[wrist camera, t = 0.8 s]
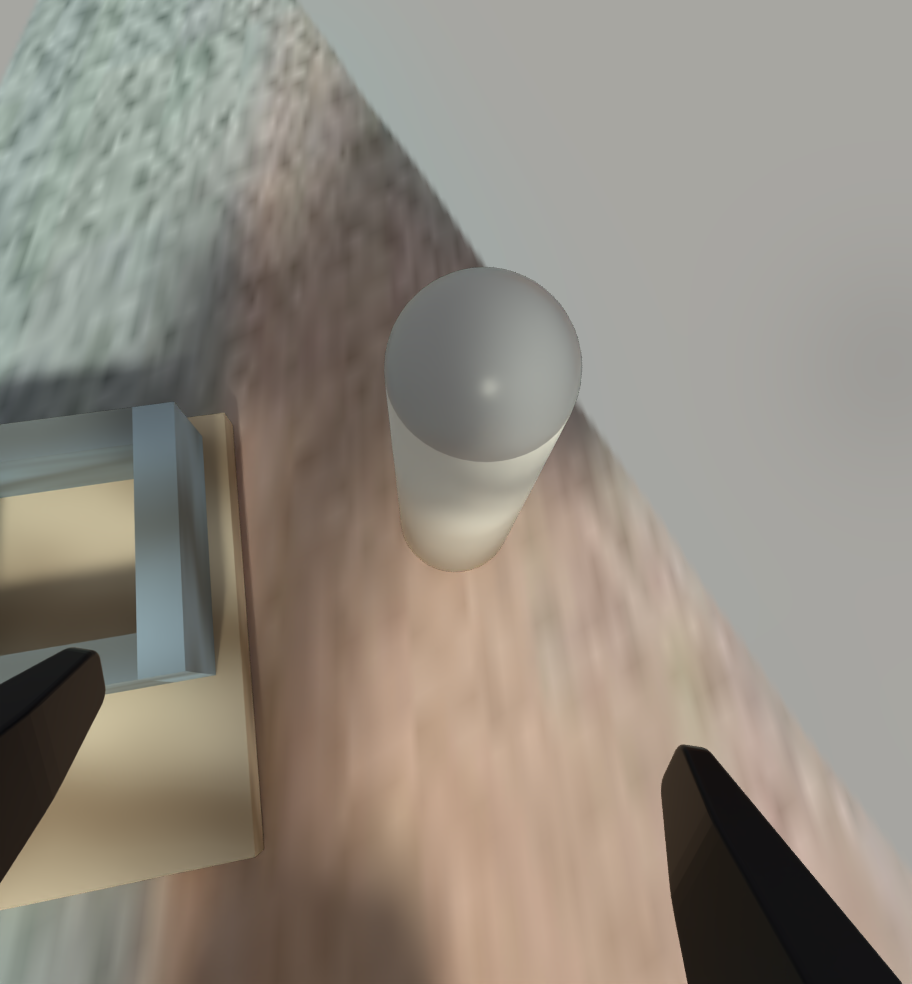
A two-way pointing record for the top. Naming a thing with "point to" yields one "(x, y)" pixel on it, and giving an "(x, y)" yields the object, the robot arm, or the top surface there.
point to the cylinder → (475, 408)
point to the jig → (133, 641)
